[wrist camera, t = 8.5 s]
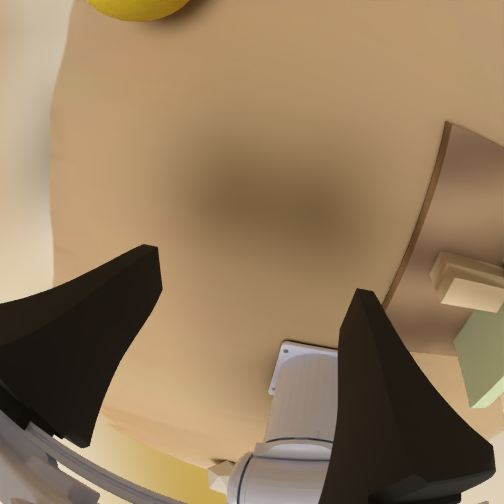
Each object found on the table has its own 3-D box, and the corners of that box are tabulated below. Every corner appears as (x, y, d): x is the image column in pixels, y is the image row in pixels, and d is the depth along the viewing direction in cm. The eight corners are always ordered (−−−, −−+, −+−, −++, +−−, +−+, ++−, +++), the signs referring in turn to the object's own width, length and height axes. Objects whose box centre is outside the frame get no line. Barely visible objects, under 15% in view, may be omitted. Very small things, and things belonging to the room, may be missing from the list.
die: (205, 454, 54) (205, 487, 50) (211, 467, 46) (211, 503, 43) (240, 454, 56) (239, 486, 52) (250, 465, 48) (249, 500, 45)
